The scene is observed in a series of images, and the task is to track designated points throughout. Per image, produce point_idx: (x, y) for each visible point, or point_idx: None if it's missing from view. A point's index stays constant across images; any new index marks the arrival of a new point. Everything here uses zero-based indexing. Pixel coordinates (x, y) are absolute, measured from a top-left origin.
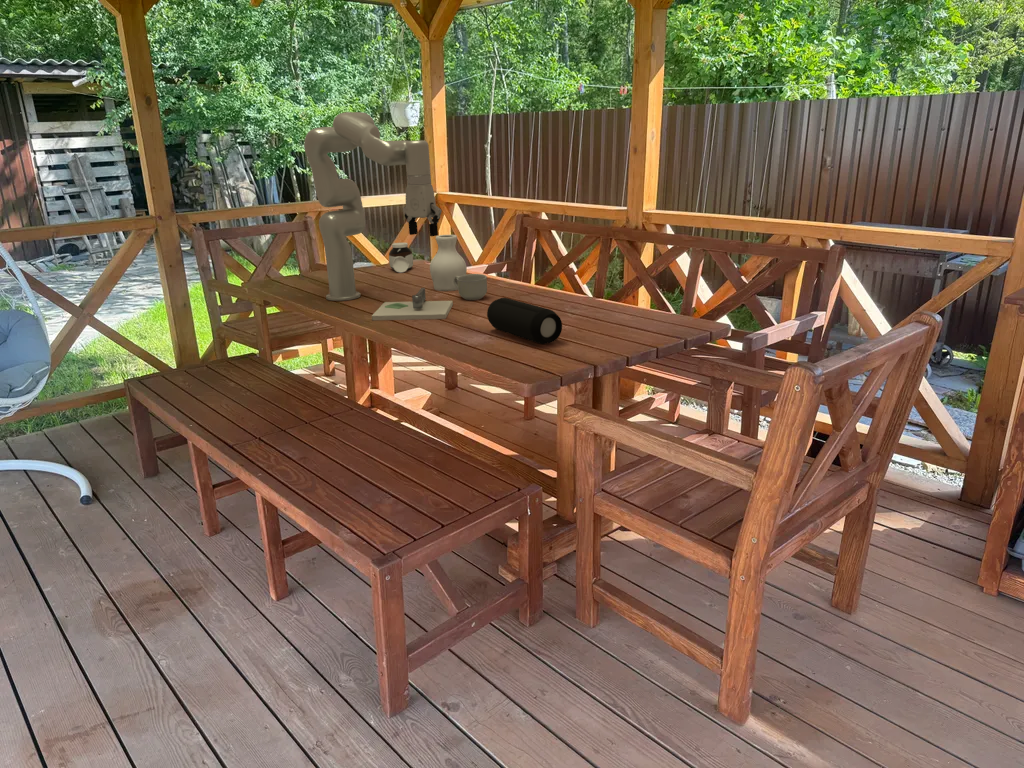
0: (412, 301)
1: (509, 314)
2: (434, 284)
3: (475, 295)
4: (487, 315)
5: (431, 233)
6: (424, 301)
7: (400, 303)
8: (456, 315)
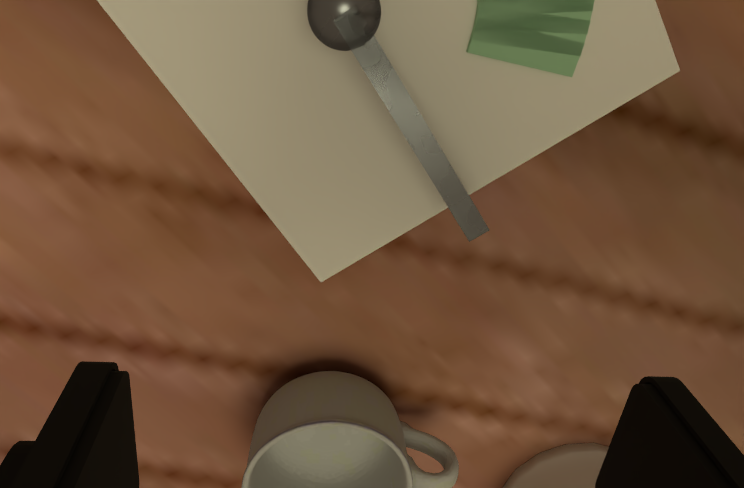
0: None
1: None
2: None
3: (272, 396)
4: None
5: (64, 407)
6: None
7: (544, 68)
8: (115, 95)
